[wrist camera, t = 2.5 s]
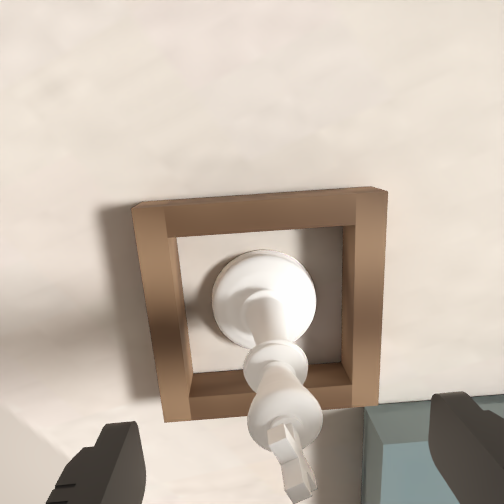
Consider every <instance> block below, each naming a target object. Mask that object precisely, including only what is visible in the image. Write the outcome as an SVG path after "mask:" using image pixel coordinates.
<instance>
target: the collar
mask: <svg viewBox="0 0 504 504" xmlns="http://www.w3.org/2000/svg"><path fill="white" fill-rule="evenodd" d="M387 203H388V191H385V190H382V189H378V188H375V187H357V188H341V189H326V190H311V191H296V192H281V193H266V194H251V195H236V196H221V197H206V198H191V199H176V200H161V201H146V202H141V203H140V204H138V205H136V206H134V207H133V208H131V213H132V219H133V225H134V232H135V238H136V244H137V251H138V257H139V263H140V270H141V276H142V283H143V289H144V295H145V302H146V308H147V314H148V321H149V327H150V333H151V340H152V346H153V352H154V359H155V365H156V372H157V378H158V384H159V391H160V397H161V403H162V410H163V416H164V422H165V423H166V422H178V421H191V420H203V419H216V418H228V417H241V416H248V412H249V409H250V406H251V403H252V401H253V399H254V397H255V396H256V392H254V391H253V390H252V389H251V388H250V386H249V385H248V383H247V381H246V379H245V377H244V372H243V370H235V371H222V372H209V373H196V374H193V368H192V360H191V352H190V344H189V336H188V328H187V320H186V312H185V304H184V296H183V288H182V280H181V272H180V264H179V256H178V248H177V240H176V237H187V236H201V235H216V234H231V233H245V232H260V231H274V230H289V229H303V228H318V227H332V226H343V254H342V344H341V362H339V363H326V364H313V365H308V372H307V377H306V380H305V382H304V384H303V386H304V387H305V388H306V389H307V390H309V391H310V393H311V394H312V395H313V396H314V397H315V399H316V400H317V401H318V403H319V405H320V407H321V410H328V409H340V408H353V407H365V406H378V398H379V376H380V355H381V333H382V311H383V290H384V268H385V247H386V225H387Z"/></svg>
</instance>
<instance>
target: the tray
mask: <svg viewBox="0 0 504 504" xmlns="http://www.w3.org/2000/svg"><path fill="white" fill-rule="evenodd" d="M471 398H472V399H473V400H474V401H475V402H476V403H477V404H478V405H479V406H480V407H481V409H482V410H490V411H492V412H494V413H495V414H497V415H499V416H500V417H502V418H504V395H491V396H479V397H471ZM430 407H431V400H429V401H417V402H404V403H392V404H379V405H378V406H365V407H364V427H363V458H362V488H361V504H460V503H459V502H458V500H457V498H456V497H455V495H454V494H453V492H452V491H451V489H450V488H449V486H448V485H447V483H446V481H445V480H444V478H443V477H442V475H441V474H440V472H439V471H438V469H437V467H436V466H435V464H434V462H433V460H432V457H431V454H430V450H429V445H428V435H429V421H430Z"/></svg>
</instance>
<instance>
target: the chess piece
mask: <svg viewBox="0 0 504 504" xmlns="http://www.w3.org/2000/svg"><path fill="white" fill-rule="evenodd" d="M212 308H213V313H214V317H215V320H216V323H217V325H218V326H219V328H220V330H221V331H222V332H223V333H224V335H225V336H226V337H227V338H229V339H230V340H231V341H232V342H234V343H235V344H237V345H239V346H241V347H244V348H247V349H250V352H249V353H248V354H247V356H246V358H245V361H244V365H243V372H244V377H245V379H246V381H247V383H248V385H249V386H250V388H251V389H252V390H253V391H254V392H256V396H255V397H254V399H253V401H252V403H251V406H250V409H249V412H248V418H247V425H248V430H249V433H250V435H251V437H252V438H253V440H254V441H255V442H256V443H257V444H258V445H259V446H261V447H262V448H264V449H266V450H268V451H271V452H273V453H274V455H275V456H276V458H277V459H278V461H279V463H280V464H281V468H282V475H283V482H284V489H285V492H286V493H287V495H288V496H289V498H290V499H291V501H292V502H293V504H295V503H298V502H300V501H302V500H305V499H307V498H309V497H312V493H311V492H312V491H314V490H317V489H318V487H317V483H316V479H315V475H314V472H313V470H312V468H311V467H310V465H309V464H308V462H307V460H306V459H305V457H304V455H303V452H302V449H304V448H305V447H307V446H308V445H310V444H311V443H312V442H313V441H314V440H315V439H316V438H317V436H318V435H319V433H320V431H321V428H322V424H323V414H322V410H321V407H320V405H319V403H318V401H317V400H316V399H315V397H314V396H313V395H312V394H311V393H310V391H309V390H307V389H306V388H305V387H304V386H303V384H304V382H305V380H306V377H307V372H308V361H307V357H306V355H305V353H304V352H303V350H302V349H301V348H300V347H299V346H298V345H296V344H295V343H293V342H294V341H296V340H297V339H298V338H299V337H301V336H302V335H303V334H304V332H305V331H306V330H307V329H308V327H309V326H310V324H311V322H312V320H313V317H314V314H315V310H316V293H315V288H314V284H313V281H312V278H311V276H310V274H309V273H308V271H307V270H306V269H305V267H304V266H303V265H302V264H301V263H300V262H298V261H297V260H296V259H294V258H293V257H291V256H289V255H287V254H285V253H282V252H278V251H273V250H257V251H252V252H248V253H245V254H243V255H240V256H238V257H237V258H235V259H233V260H232V261H231V262H229V263H228V264H227V265H226V266H225V267H224V268H223V270H222V271H221V272H220V274H219V275H218V277H217V279H216V281H215V283H214V286H213V290H212Z"/></svg>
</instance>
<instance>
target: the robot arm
mask: <svg viewBox="0 0 504 504" xmlns="http://www.w3.org/2000/svg"><path fill="white" fill-rule="evenodd" d="M428 445H429V450H430V454H431V457H432V460H433V462H434V464H435V466H436V467H437V469H438V471H439V472H440V474H441V475H442V477H443V478H444V480H445V481H446V483H447V485H448V486H449V488H450V489H451V491H452V492H453V494H454V495H455V497H456V498H457V500H458V502H459V503H460V504H504V418H502V417H500V416H499V415H497V414H495V413H494V412H492V411H490V410H482V409H481V407H480V406H479V405H478V404H477V403H476V402H475V401H474V400H473V399H472V398H471V397H470V396H469V395H468V394H466V393H465V392H450V393H440V394H434V395H433V396H432V398H431V407H430V421H429V435H428ZM145 484H146V467H145V462H144V456H143V451H142V445H141V440H140V435H139V429H138V425H137V423H136V422H135V421H132V422H121V423H110V424H106V425H105V426H104V427H103V429H102V431H101V433H100V435H99V437H98V439H97V441H96V443H95V446H94V447H85V448H83V449H82V450H81V451H80V452H79V453H78V454H77V455H76V456H75V457H74V458H73V459H72V460H71V461H70V462H69V463H68V464H67V465H66V466H65V468H64V470H63V472H62V474H61V476H60V477H59V480H58V481H57V483H56V485H55V489H54V490H52V492H51V494H50V496H49V498H48V500H47V502H46V504H142V500H143V496H144V491H145Z"/></svg>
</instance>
